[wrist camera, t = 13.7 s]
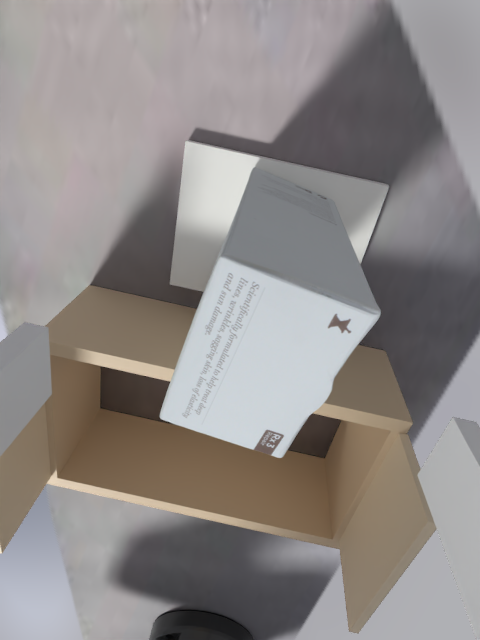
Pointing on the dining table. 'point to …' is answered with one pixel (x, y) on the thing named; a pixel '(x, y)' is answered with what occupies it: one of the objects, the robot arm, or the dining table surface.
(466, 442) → the robot arm
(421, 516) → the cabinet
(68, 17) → the dining table surface
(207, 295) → the skincare box
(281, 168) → the pad
